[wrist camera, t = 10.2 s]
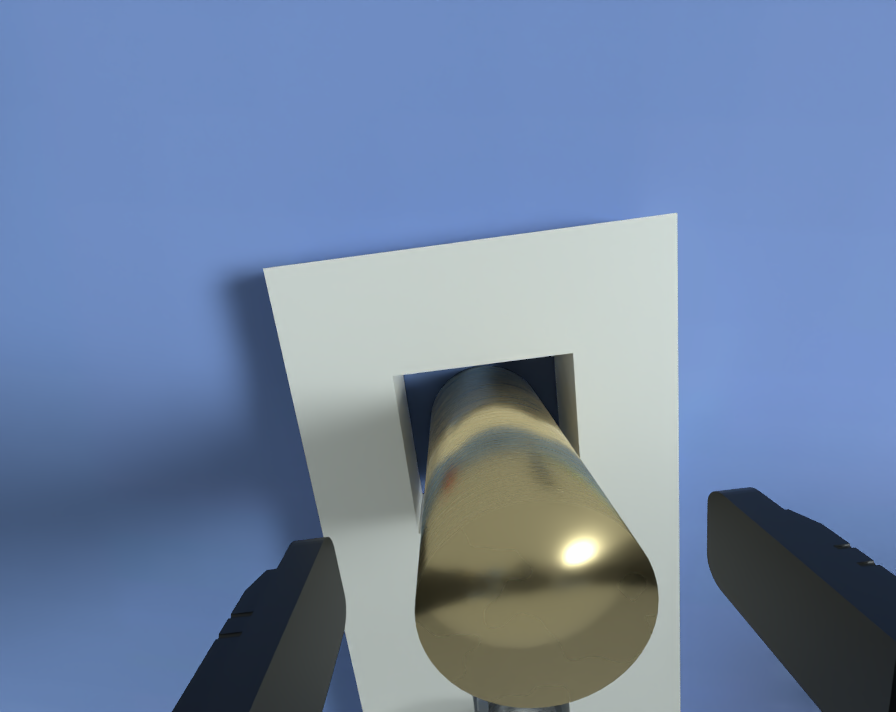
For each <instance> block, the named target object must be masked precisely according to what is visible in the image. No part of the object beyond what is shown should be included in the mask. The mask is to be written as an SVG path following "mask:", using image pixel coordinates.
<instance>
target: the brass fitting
mask: <svg viewBox="0 0 896 712" xmlns="http://www.w3.org/2000/svg"><path fill="white" fill-rule="evenodd" d="M658 603H659V595H658V585H657V581H656V577H655V573H654V570H653V568H652V566H651V563H650V561H649V559H648V557H647V556H646V554H645V553H644V551H643V550H642V548H641V546H640V545H639V544H638V542H637V541H636V539H635V538H634V536H633V535H632V533H631V532H630V530H629V529H628V527H627V526H626V525H625V523H624V522H623V520H622V519H621V517H620V516H619V514H618V513H617V511H616V510H615V508H614V507H613V506H612V504H611V503H610V501H609V500H608V498H607V497H606V495H605V494H604V492H603V491H602V489H601V488H600V487H599V485H598V484H597V482H596V481H595V479H594V478H593V476H592V475H591V473H590V472H589V470H588V469H587V468H586V466H585V465H584V463H583V462H582V460H581V459H580V457H579V456H578V454H577V453H576V451H575V450H574V449H573V447H572V446H571V444H570V443H569V441H568V440H567V438H566V437H565V435H564V434H563V432H562V431H561V430H560V428H559V427H558V425H557V424H556V422H555V421H554V419H553V418H552V416H551V415H550V413H549V412H548V411H547V409H546V408H545V406H544V405H543V403H542V402H541V400H540V399H539V397H538V396H537V394H536V393H535V392H534V390H533V389H532V387H531V386H530V385H529V384H528V383H527V381H525V380H524V379H523V378H522V377H521V376H519V375H518V374H516V373H514V372H512V371H510V370H508V369H505V368H502V367H497V366H478V367H473V368H470V369H467V370H464V371H462V372H460V373H458V374H457V375H455V376H454V377H452V378H451V379H450V380H449V381H447V382H446V384H445V385H444V386H443V387H442V388H441V390H440V391H439V393H438V394H437V396H436V398H435V401H434V404H433V407H432V412H431V423H430V434H429V446H428V458H427V469H426V481H425V492H424V504H423V516H422V527H421V539H420V550H419V562H418V574H417V585H416V597H415V623H416V629H417V632H418V636H419V640H420V642H421V644H422V647H423V649H424V651H425V653H426V654H427V656H428V658H429V659H430V661H431V662H432V664H433V665H434V666H435V667H436V668H437V670H438V671H439V672H440V673H441V674H442V675H443V676H444V677H445V678H447V679H448V680H449V681H450V682H451V683H453V684H454V685H455V686H457V687H458V688H460V689H461V690H463V691H465V692H467V693H469V694H470V695H472V696H474V697H477V698H480V699H482V700H485V701H487V702H491V703H495V704H499V705H503V706H509V707H516V708H542V707H551V706H557V705H562V704H566V703H570V702H573V701H577V700H579V699H582V698H584V697H587V696H589V695H591V694H593V693H595V692H597V691H599V690H601V689H603V688H604V687H606V686H607V685H609V684H611V683H612V682H614V681H615V680H616V679H617V678H619V677H620V676H621V675H622V674H623V673H625V672H626V671H627V670H628V669H629V668H630V666H631V665H632V664H633V663H634V662H635V661H636V660H637V658H638V657H639V656H640V654H641V653H642V651H643V650H644V648H645V647H646V645H647V643H648V641H649V639H650V637H651V635H652V632H653V629H654V627H655V623H656V619H657V614H658Z"/></svg>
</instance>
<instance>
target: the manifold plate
mask: <svg viewBox="0 0 896 712" xmlns="http://www.w3.org/2000/svg"><path fill="white" fill-rule="evenodd" d="M263 271H264V275H265V279H266V284H267V288H268V293H269V297H270V302H271V306H272V310H273V315H274V319H275V324H276V328H277V333H278V337H279V341H280V346H281V350H282V355H283V359H284V364H285V368H286V372H287V377H288V381H289V386H290V390H291V395H292V399H293V404H294V408H295V412H296V417H297V421H298V426H299V430H300V435H301V439H302V443H303V448H304V452H305V457H306V461H307V466H308V470H309V474H310V479H311V483H312V488H313V492H314V497H315V501H316V505H317V510H318V514H319V519H320V523H321V528H322V532H323V537H330V538H331V540H332V542H333V544H334V548H335V553H336V557H337V562H338V567H339V571H340V576H341V580H342V585H343V589H344V594H345V599H346V623H345V629H344V630H345V634H346V638H347V643H348V647H349V652H350V656H351V661H352V665H353V669H354V674H355V678H356V683H357V687H358V692H359V696H360V701H361V705H362V709H363V712H489V711H488V702H487V701H485V700H482V699H480V698H477V697H474V696H472V695H470V694H469V693H467V692H465V691H463V690H461V689H460V688H458V687H457V686H455V685H454V684H453V683H451V682H450V681H449V680H448V679H447V678H445V677H444V676H443V675H442V674H441V673H440V672H439V671H438V670H437V668H436V667H435V666H434V665H433V664H432V662H431V661H430V659H429V658H428V656H427V654H426V653H425V651H424V649H423V647H422V644H421V642H420V640H419V636H418V632H417V629H416V623H415V597H416V585H417V574H418V562H419V550H420V539H421V527H422V516H423V504H424V494H422V489H421V483H420V476H419V470H418V464H417V458H416V452H415V445H414V439H413V433H412V427H411V420H410V414H409V408H408V402H407V395H406V389H405V383H404V377H403V375H406V374H414V373H421V372H429V371H437V370H445V369H453V368H460V367H468V366H476V365H484V364H491V363H499V362H507V361H515V360H522V359H530V358H538V357H546V356H554V363H555V376H556V390H557V403H558V416H559V428H560V430H561V431H562V432H563V434H564V435H565V437H566V438H567V440H568V441H569V443H570V444H571V446H572V447H573V449H574V450H575V451H576V453H577V454H578V456H579V457H580V459H581V460H582V462H583V463H584V465H585V466H586V468H587V469H588V470H589V472H590V473H591V475H592V476H593V478H594V479H595V481H596V482H597V484H598V485H599V487H600V488H601V489H602V491H603V492H604V494H605V495H606V497H607V498H608V500H609V501H610V503H611V504H612V506H613V507H614V508H615V510H616V511H617V513H618V514H619V516H620V517H621V519H622V520H623V522H624V523H625V525H626V526H627V527H628V529H629V530H630V532H631V533H632V535H633V536H634V538H635V539H636V541H637V542H638V544H639V545H640V546H641V548H642V550H643V551H644V553H645V554H646V556H647V557H648V559H649V561H650V563H651V566H652V568H653V570H654V573H655V577H656V581H657V585H658V595H659V603H658V614H657V619H656V623H655V627H654V629H653V632H652V635H651V637H650V639H649V641H648V643H647V645H646V647H645V648H644V650H643V651H642V653H641V654H640V656H639V657H638V658H637V660H636V661H635V662H634V663H633V664H632V665H631V666H630V668H629V669H628V670H627V671H626V672H625V673H623V674H622V675H621V676H620V677H619V678H617V679H616V680H615V681H614V682H612V683H611V684H609V685H607V686H606V687H604V688H603V689H601V690H599V691H597V692H595V693H593V694H591V695H589V696H587V697H584V698H582V699H579V700H577V701H573V702H570V703H566V704H562V705H557V706H555V710H556V712H680V579H679V423H678V267H677V213H673V214H665V215H658V216H650V217H643V218H636V219H628V220H621V221H613V222H606V223H598V224H591V225H584V226H576V227H569V228H561V229H554V230H546V231H539V232H532V233H524V234H517V235H509V236H502V237H494V238H487V239H480V240H472V241H465V242H457V243H450V244H442V245H435V246H428V247H420V248H413V249H405V250H398V251H390V252H383V253H376V254H368V255H361V256H353V257H346V258H338V259H331V260H324V261H316V262H309V263H301V264H294V265H286V266H279V267H272V268H264V269H263Z"/></svg>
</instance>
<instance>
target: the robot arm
mask: <svg viewBox="0 0 896 712" xmlns="http://www.w3.org/2000/svg"><path fill="white" fill-rule="evenodd" d="M707 558H708V564H709V567H710V571H711V573H712V576H713V578H714V580H715V582H716V584H717V585H718V587H719V588H720V590H721V591H722V592H723V593H724V595H725V596H726V597H727V598H728V599H729V601H730V602H731V603H732V604H733V605H734V607H735V608H736V609H737V610H738V611H739V613H740V614H741V615H742V616H743V617H744V619H745V620H746V621H747V622H748V623H749V625H750V626H751V627H752V628H753V629H754V631H755V632H756V633H757V634H758V635H759V637H760V638H761V639H762V640H763V641H764V643H765V644H766V645H767V646H768V647H769V649H770V650H771V651H772V652H773V653H774V655H775V656H776V657H777V658H778V659H779V661H780V662H781V663H782V664H783V666H784V667H785V668H786V669H787V670H788V672H789V673H790V674H791V675H792V676H793V678H794V679H795V680H796V681H797V682H798V684H799V685H800V686H801V687H802V688H803V690H804V691H805V692H806V693H807V694H808V696H809V697H810V698H811V699H812V700H813V702H814V703H815V704H816V705H817V706H818V708H819V709H820V710H821V711H822V712H896V576H895V575H893V574H892V573H891V572H889V571H888V570H886V569H885V568H884V567H882V566H881V565H875V563H874V560H872V559H871V558H869V557H868V556H866V555H865V554H864V553H862V552H861V551H859V550H858V549H857V548H851V546H850V544H849V543H848V542H847V541H845V540H844V539H842V538H841V537H839V536H838V535H837V534H835V533H834V532H832V531H831V530H830V529H828V528H827V527H825V526H824V525H822V524H821V523H818V522H816V521H814V520H811V519H809V518H807V517H805V516H802V515H800V514H798V513H796V512H793V511H791V510H789V509H787V510H784V509H783V508H781V507H780V506H779V505H777V504H776V503H775V502H773V501H772V500H771V499H769V498H768V497H767V496H765V495H764V494H762V493H761V492H760V491H758V490H757V489H755V488H751V487H748V488H740V489H731V490H723V491H715V492H712V493H711V494H710V495H709V497H708V513H707ZM345 623H346V599H345V594H344V589H343V585H342V580H341V576H340V571H339V567H338V562H337V557H336V553H335V548H334V544H333V542H332V540H331V538H330V537H323V538H315V539H307V540H298V541H293V542H292V543H291V544H290V546H289V547H288V549H287V551H286V553H285V555H284V557H283V558H282V560H281V562H280V564H279V566H278V568H277V569H272V570H266V571H265V572H264V573H263V574H262V575H261V576H260V577H259V578H258V579H257V580H256V581H255V582H254V583H253V584H252V585H251V586H250V587H249V588H247V589H246V590H245V592H244V594H243V595H242V597H241V598H240V600H239V602H238V603H237V605H236V607H235V608H234V610H233V612H232V613H231V618H230V619H228V620H227V622H226V623H225V625H224V627H223V628H222V630H221V632H220V633H219V638H218V639H216V640H215V641H214V643H213V645H212V646H211V648H210V650H209V651H208V653H207V655H206V656H205V658H204V660H203V661H202V663H201V665H200V666H199V668H198V670H197V671H196V673H195V675H194V676H193V678H192V679H191V681H190V683H189V684H188V686H187V688H186V689H185V691H184V693H183V694H182V696H181V698H180V699H179V701H178V703H177V704H176V706H175V708H174V709H173V711H172V712H322V710H323V707H324V703H325V700H326V696H327V692H328V689H329V685H330V681H331V678H332V674H333V670H334V667H335V663H336V659H337V656H338V652H339V648H340V645H341V641H342V637H343V634H344V629H345Z"/></svg>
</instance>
